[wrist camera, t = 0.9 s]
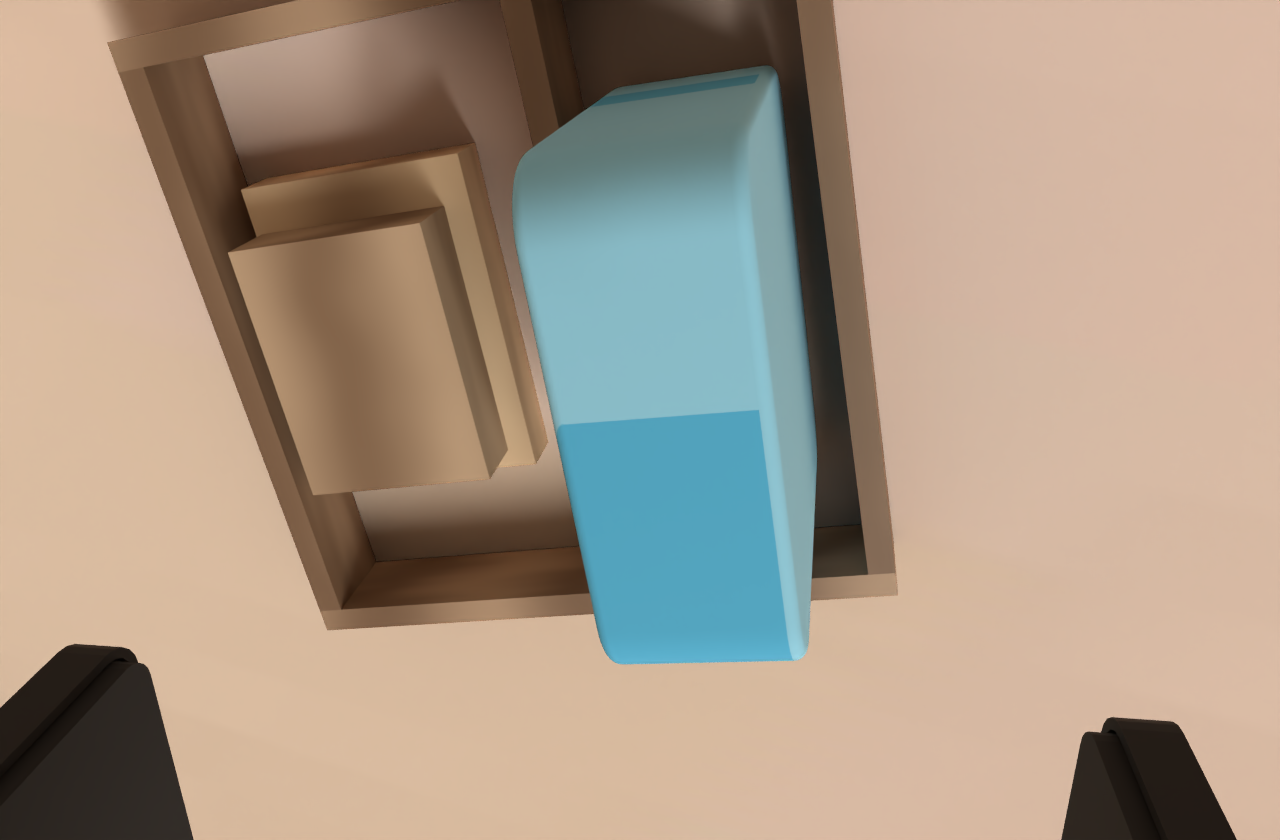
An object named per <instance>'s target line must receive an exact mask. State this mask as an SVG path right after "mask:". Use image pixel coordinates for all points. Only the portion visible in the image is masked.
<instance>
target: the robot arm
mask: <svg viewBox="0 0 1280 840" xmlns="http://www.w3.org/2000/svg"><path fill="white" fill-rule="evenodd" d="M0 840H193V836H192V832H191V828H190V824H189V820H188V816H187V813H186V809H185V805H184V801H183V797H182V793H181V790H180V786H179V782H178V778H177V774H176V770H175V766H174V763H173V759H172V755H171V751H170V747H169V743H168V739H167V736H166V732H165V728H164V724H163V720H162V716H161V712H160V709H159V705H158V701H157V697H156V693H155V689H154V685H153V682H152V678H151V674H150V672H149V670H148V668H147V667H146V666H145V665H144V664H141V663H138V661H137V659H136V656H135V654H134V653H133V652H132V651H131V650H130V649H126V648H123V647H110V646H96V645H82V644H73V645H69V646H66V647H65V648H64V649H62V650H61V651H59V652H58V653H57V654H56V655H55V656H54V657H53V658H52V659H51V660H50V661H49V662H48V663H47V664H46V665H44V666H43V667H42V668H41V669H40V670H39V671H38V672H37V673H36V674H35V675H34V676H33V677H32V678H31V679H30V680H29V681H28V682H27V683H26V684H25V685H24V686H23V687H22V688H21V689H19V690H18V691H17V692H16V693H15V694H14V695H13V696H12V697H11V698H10V699H9V700H8V701H7V702H6V703H5V704H4V705H3V706H2V707H1V708H0ZM1061 840H1237V839H1236V837H1235V835H1234V833H1233V831H1232V829H1231V827H1230V825H1229V823H1228V821H1227V819H1226V817H1225V815H1224V813H1223V811H1222V809H1221V807H1220V805H1219V803H1218V801H1217V799H1216V797H1215V795H1214V793H1213V791H1212V789H1211V787H1210V785H1209V783H1208V781H1207V779H1206V777H1205V775H1204V773H1203V771H1202V769H1201V767H1200V765H1199V763H1198V761H1197V759H1196V757H1195V755H1194V753H1193V751H1192V749H1191V747H1190V745H1189V743H1188V741H1187V739H1186V737H1185V735H1184V733H1183V732H1182V730H1181V729H1180V727H1179V726H1178V725H1177V724H1175V723H1174V722H1171V721H1156V720H1142V719H1128V718H1114V717H1111V718H1108V719H1107V720H1106V721H1105V723H1104V725H1103V728H1102V731H1101V733H1099V732H1086V733H1085V734H1084V735H1083V737H1082V740H1081V744H1080V749H1079V754H1078V759H1077V764H1076V769H1075V774H1074V779H1073V784H1072V789H1071V794H1070V799H1069V804H1068V809H1067V814H1066V819H1065V824H1064V829H1063V834H1062V839H1061Z"/></svg>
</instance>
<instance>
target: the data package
mask: <svg viewBox="0 0 1280 840" xmlns="http://www.w3.org/2000/svg"><path fill="white" fill-rule="evenodd" d="M512 217H513V229H514V238H515V244H516V250H517V255H518V260H519V265H520V269H521V274H522V279H523V283H524V288H525V293H526V297H527V302H528V307H529V311H530V316H531V321H532V325H533V330H534V335H535V340H536V344H537V349H538V354H539V358H540V363H541V368H542V372H543V377H544V382H545V386H546V391H547V396H548V400H549V405H550V410H551V415H552V419H553V424H554V429H555V433H556V438H557V443H558V447H559V452H560V457H561V461H562V466H563V471H564V475H565V480H566V485H567V489H568V494H569V499H570V504H571V508H572V513H573V518H574V522H575V527H576V532H577V536H578V541H579V546H580V550H581V555H582V560H583V564H584V569H585V574H586V579H587V583H588V588H589V593H590V597H591V602H592V607H593V611H594V616H595V621H596V625H597V630H598V634H599V638H600V641H601V644H602V646H603V649H604V651H605V652H606V654H607V655H608V657H609V658H610V659H611V660H612V661H614V662H615V663H618V664H660V663H706V662H752V661H795V660H799V659H801V658H802V657H803V656H804V655H805V654H806V652H807V648H808V642H809V623H810V602H811V580H812V559H813V537H814V515H815V494H816V472H817V442H816V425H815V412H814V402H813V392H812V382H811V372H810V363H809V353H808V343H807V333H806V323H805V314H804V304H803V294H802V284H801V275H800V265H799V255H798V245H797V236H796V226H795V216H794V206H793V196H792V187H791V177H790V167H789V157H788V148H787V138H786V128H785V118H784V110H783V101H782V94H781V88H780V82H779V78H778V74H777V72H776V70H775V69H774V68H773V67H771V66H768V65H764V66H758V67H751V68H744V69H738V70H731V71H724V72H718V73H711V74H704V75H698V76H691V77H684V78H677V79H671V80H664V81H657V82H651V83H644V84H637V85H631V86H624V87H618V88H616V89H614V90H612V91H611V92H610V93H608V94H607V95H605V96H604V97H603V98H601V99H600V100H598V101H597V102H596V103H594V104H593V105H591V106H590V107H589V108H587V109H586V110H584V111H583V112H582V113H580V114H579V115H577V116H576V117H575V118H573V119H572V120H570V121H569V122H568V123H566V124H565V125H563V126H562V127H561V128H559V129H558V130H556V131H555V132H554V133H552V134H551V135H549V136H548V137H547V138H545V139H544V140H543V141H541V142H540V143H538V144H537V145H536V146H534V147H533V148H531V149H530V150H529V151H527V152H526V153H525V154H524V155H523V157H522V158H521V160H520V162H519V164H518V167H517V169H516V173H515V177H514V184H513V193H512Z"/></svg>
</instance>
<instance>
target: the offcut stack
mask: <svg viewBox="0 0 1280 840" xmlns="http://www.w3.org/2000/svg"><path fill="white" fill-rule="evenodd" d="M241 192H242V195H243V198H244V201H245V204H246V207H247V210H248V213H249V216H250V219H251V222H252V225H253V228H254V230H255V233H256V236H257V237H256V238H254V239H252V240H250V241H248V242H247V243H245V244H243V245H241V246H239V247H237V248H235V249H234V250H232V251H230V252H228V255H229V257H230V260H231V263H232V266H233V269H234V272H235V275H236V277H237V280H238V283H239V286H240V289H241V292H242V294H243V297H244V300H245V303H246V306H247V309H248V311H249V314H250V317H251V320H252V323H253V326H254V328H255V331H256V334H257V337H258V340H259V343H260V346H261V348H262V351H263V354H264V357H265V360H266V363H267V365H268V368H269V371H270V374H271V377H272V380H273V382H274V385H275V388H276V391H277V394H278V397H279V400H280V402H281V405H282V408H283V411H284V414H285V417H286V419H287V422H288V425H289V428H290V431H291V434H292V436H293V439H294V442H295V445H296V448H297V451H298V453H299V456H300V459H301V462H302V465H303V468H304V471H305V473H306V476H307V479H308V482H309V485H310V488H311V490H312V493H313V495H322V494H333V493H344V492H355V491H366V490H377V489H388V488H399V487H410V486H421V485H432V484H443V483H454V482H465V481H476V480H487V479H490V478H491V477H492V475H493V473H494V472H495V470H496V469H497V468H499V467H510V466H521V465H531V464H536V463H537V461H538V459H539V458H540V456H541V454H542V452H543V450H544V449H545V447H546V445H547V443H548V439H547V435H546V431H545V427H544V423H543V419H542V415H541V411H540V407H539V402H538V398H537V394H536V390H535V386H534V382H533V378H532V374H531V370H530V366H529V361H528V357H527V353H526V349H525V345H524V341H523V337H522V333H521V329H520V325H519V321H518V316H517V312H516V308H515V304H514V300H513V296H512V292H511V288H510V284H509V280H508V275H507V271H506V267H505V263H504V259H503V255H502V251H501V247H500V243H499V239H498V235H497V230H496V226H495V222H494V218H493V214H492V210H491V206H490V202H489V198H488V194H487V189H486V185H485V181H484V177H483V173H482V169H481V165H480V161H479V157H478V153H477V149H476V144H475V143H471V144H465V145H459V146H453V147H447V148H441V149H435V150H429V151H423V152H417V153H412V154H406V155H400V156H394V157H388V158H382V159H376V160H370V161H364V162H359V163H353V164H347V165H341V166H335V167H329V168H323V169H317V170H311V171H305V172H300V173H294V174H288V175H282V176H276V177H270V178H266V179H264V180H262V181H260V182H257V183H255V184H253V185H251V186H248V187H246V188H244V189H242V190H241Z"/></svg>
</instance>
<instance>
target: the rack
mask: <svg viewBox="0 0 1280 840" xmlns="http://www.w3.org/2000/svg"><path fill="white" fill-rule="evenodd" d="M455 1H459V0H296V1H291V2H287V3H282V4H278V5H273V6H269V7H264V8H260V9H256V10H251V11H247V12H242V13H238V14H233V15H229V16H224V17H220V18H215V19H211V20H206V21H202V22H197V23H193V24H188V25H184V26H179V27H175V28H170V29H166V30H161V31H157V32H152V33H148V34H143V35H139V36H134V37H130V38H125V39H121V40H116V41H112V42H107V43H108V46H109V49H110V51H111V54H112V57H113V59H114V62H115V65H116V67H117V70H118V73H119V75H120V78H121V81H122V83H123V86H124V89H125V91H126V94H127V97H128V99H129V102H130V105H131V107H132V110H133V113H134V115H135V118H136V121H137V123H138V126H139V129H140V131H141V134H142V137H143V139H144V142H145V145H146V147H147V150H148V153H149V155H150V158H151V161H152V163H153V166H154V169H155V171H156V174H157V177H158V179H159V182H160V185H161V187H162V190H163V193H164V195H165V198H166V201H167V203H168V206H169V209H170V211H171V214H172V217H173V219H174V222H175V225H176V227H177V230H178V233H179V235H180V238H181V241H182V243H183V246H184V249H185V251H186V254H187V257H188V259H189V262H190V265H191V267H192V270H193V273H194V275H195V278H196V281H197V283H198V286H199V289H200V291H201V294H202V297H203V299H204V302H205V305H206V307H207V310H208V313H209V316H210V318H211V321H212V324H213V326H214V329H215V332H216V334H217V337H218V340H219V342H220V345H221V348H222V350H223V353H224V356H225V358H226V361H227V364H228V366H229V369H230V372H231V374H232V377H233V380H234V382H235V385H236V388H237V390H238V393H239V396H240V398H241V401H242V404H243V406H244V409H245V412H246V414H247V417H248V420H249V422H250V425H251V428H252V430H253V433H254V436H255V438H256V441H257V444H258V446H259V449H260V452H261V454H262V457H263V460H264V462H265V465H266V468H267V470H268V473H269V476H270V478H271V481H272V484H273V486H274V489H275V492H276V494H277V497H278V500H279V502H280V505H281V508H282V510H283V513H284V516H285V518H286V521H287V524H288V526H289V529H290V532H291V534H292V537H293V540H294V542H295V545H296V548H297V550H298V553H299V556H300V558H301V561H302V564H303V566H304V569H305V572H306V574H307V577H308V580H309V582H310V585H311V588H312V590H313V593H314V596H315V598H316V601H317V604H318V606H319V609H320V612H321V614H322V617H323V620H324V622H325V625H326V628H327V630H339V629H355V628H372V627H388V626H404V625H421V624H437V623H453V622H470V621H486V620H502V619H519V618H535V617H551V616H568V615H584V614H594V611H593V607H592V602H591V597H590V593H589V588H588V583H587V579H586V574H585V569H584V564H583V560H582V555H581V550H580V546H578V547H565V548H553V549H540V550H527V551H514V552H501V553H488V554H475V555H462V556H449V557H436V558H424V559H411V560H398V561H385V562H376V561H375V558H374V555H373V552H372V549H371V546H370V543H369V540H368V537H367V534H366V531H365V528H364V526H363V523H362V520H361V517H360V514H359V511H358V508H357V505H356V502H355V499H354V496H353V493H352V492H344V493H333V494H322V495H313V493H312V490H311V488H310V485H309V482H308V479H307V476H306V473H305V471H304V468H303V465H302V462H301V459H300V456H299V453H298V451H297V448H296V445H295V442H294V439H293V436H292V434H291V431H290V428H289V425H288V422H287V419H286V417H285V414H284V411H283V408H282V405H281V402H280V400H279V397H278V394H277V391H276V388H275V385H274V382H273V380H272V377H271V374H270V371H269V368H268V365H267V363H266V360H265V357H264V354H263V351H262V348H261V346H260V343H259V340H258V337H257V334H256V331H255V328H254V326H253V323H252V320H251V317H250V314H249V311H248V309H247V306H246V303H245V300H244V297H243V294H242V292H241V289H240V286H239V283H238V280H237V277H236V275H235V272H234V269H233V266H232V263H231V260H230V257H229V255H228V252H230V251H232V250H234V249H235V248H237V247H239V246H241V245H243V244H245V243H247V242H248V241H250V240H252V239H254V238H256V237H257V236H256V233H255V230H254V228H253V225H252V222H251V219H250V216H249V213H248V210H247V207H246V204H245V201H244V198H243V195H242V192H241V190H242V189H244V188H246V187H248V186H247V183H246V181H245V178H244V175H243V172H242V169H241V166H240V163H239V160H238V157H237V154H236V151H235V148H234V145H233V143H232V140H231V137H230V134H229V131H228V128H227V125H226V122H225V119H224V116H223V113H222V110H221V107H220V105H219V102H218V99H217V96H216V93H215V90H214V87H213V84H212V81H211V78H210V75H209V72H208V69H207V66H206V64H205V61H204V58H203V55H207V54H211V53H216V52H221V51H225V50H230V49H235V48H239V47H244V46H249V45H253V44H258V43H263V42H268V41H272V40H277V39H282V38H286V37H291V36H296V35H300V34H305V33H310V32H314V31H319V30H324V29H328V28H333V27H338V26H342V25H347V24H352V23H356V22H361V21H366V20H370V19H375V18H380V17H384V16H389V15H394V14H398V13H403V12H408V11H413V10H417V9H422V8H427V7H431V6H436V5H441V4H445V3H450V2H455ZM796 1H797V9H798V17H799V25H800V33H801V41H802V49H803V57H804V65H805V73H806V81H807V89H808V97H809V105H810V113H811V121H812V129H813V137H814V145H815V153H816V161H817V169H818V177H819V185H820V193H821V201H822V209H823V217H824V225H825V233H826V241H827V249H828V257H829V265H830V273H831V281H832V289H833V297H834V305H835V313H836V321H837V329H838V337H839V345H840V353H841V361H842V369H843V377H844V385H845V392H846V400H847V408H848V416H849V424H850V432H851V440H852V448H853V456H854V464H855V472H856V480H857V488H858V496H859V504H860V512H861V520H862V525H849V526H836V527H823V528H814V537H813V559H812V580H811V601H812V600H829V599H845V598H861V597H878V596H894V595H898V590H897V578H896V566H895V554H894V543H893V534H892V525H891V516H890V507H889V498H888V489H887V480H886V471H885V462H884V454H883V445H882V436H881V427H880V418H879V409H878V400H877V391H876V382H875V373H874V365H873V356H872V347H871V338H870V329H869V320H868V311H867V302H866V293H865V284H864V275H863V267H862V258H861V249H860V240H859V231H858V222H857V213H856V204H855V195H854V186H853V178H852V169H851V160H850V151H849V142H848V133H847V124H846V115H845V106H844V97H843V88H842V80H841V71H840V62H839V53H838V44H837V35H836V26H835V17H834V8H833V0H796ZM500 4H501V9H502V13H503V17H504V22H505V26H506V30H507V35H508V39H509V43H510V48H511V52H512V57H513V61H514V65H515V70H516V74H517V78H518V83H519V87H520V91H521V96H522V100H523V104H524V109H525V113H526V117H527V122H528V126H529V130H530V135H531V139H532V143H533V147H534V146H536V145H537V144H538V143H540V142H541V141H543V140H544V139H545V138H547V137H548V136H549V135H551V134H552V133H554V132H555V131H556V130H558V129H559V128H561V127H562V126H563V125H565V124H566V123H568V122H569V121H570V120H572V119H573V118H575V117H576V116H577V115H579V114H580V113H582V112H583V111H584V108H583V103H582V98H581V94H580V89H579V84H578V79H577V74H576V70H575V65H574V60H573V55H572V50H571V46H570V41H569V36H568V31H567V26H566V22H565V17H564V12H563V7H562V2H561V0H500Z"/></svg>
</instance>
